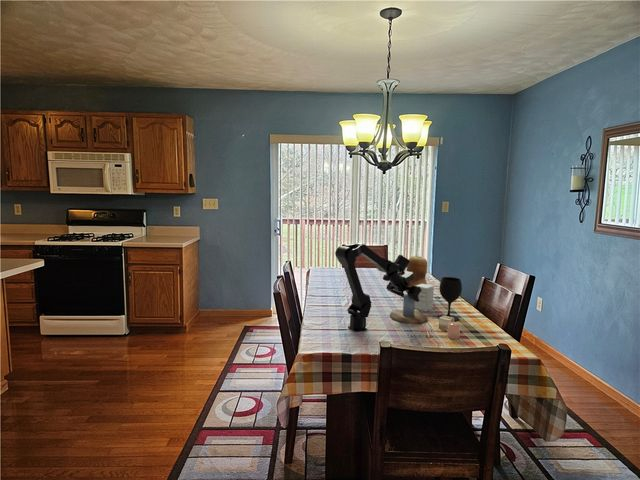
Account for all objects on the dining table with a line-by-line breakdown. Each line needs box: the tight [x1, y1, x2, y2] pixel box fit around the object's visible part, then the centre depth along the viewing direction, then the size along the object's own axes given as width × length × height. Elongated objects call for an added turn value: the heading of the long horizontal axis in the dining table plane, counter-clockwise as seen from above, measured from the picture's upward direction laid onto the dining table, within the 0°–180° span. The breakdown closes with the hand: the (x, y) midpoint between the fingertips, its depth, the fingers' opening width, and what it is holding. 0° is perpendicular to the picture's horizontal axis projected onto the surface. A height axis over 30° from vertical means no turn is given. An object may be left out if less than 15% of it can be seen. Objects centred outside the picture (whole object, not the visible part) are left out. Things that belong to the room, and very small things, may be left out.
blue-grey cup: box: [402, 293, 416, 317], centre depth 191 cm, size 6×6×10 cm
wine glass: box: [437, 276, 463, 323], centre depth 192 cm, size 10×10×20 cm
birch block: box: [438, 316, 454, 331], centre depth 178 cm, size 5×5×5 cm
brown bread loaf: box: [389, 309, 428, 325], centre depth 192 cm, size 18×18×1 cm
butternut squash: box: [405, 255, 428, 294], centre depth 227 cm, size 14×13×25 cm
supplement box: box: [415, 283, 435, 312], centre depth 208 cm, size 7×7×13 cm
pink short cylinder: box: [446, 321, 461, 340], centre depth 166 cm, size 5×5×6 cm
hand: (411, 299), depth 192 cm, fingers open, 9 cm apart
